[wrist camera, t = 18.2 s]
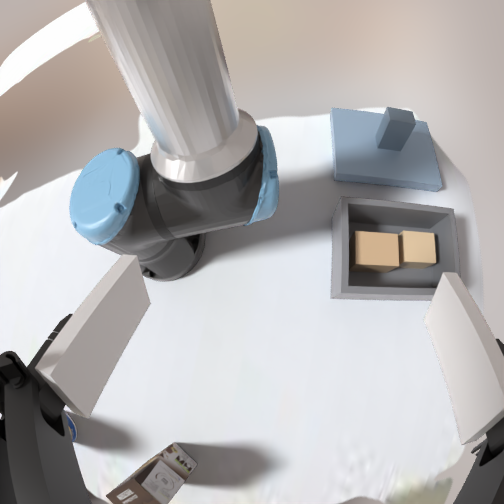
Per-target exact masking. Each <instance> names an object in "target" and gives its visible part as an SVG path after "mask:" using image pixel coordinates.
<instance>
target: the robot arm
mask: <svg viewBox="0 0 504 504" xmlns="http://www.w3.org/2000/svg"><path fill="white" fill-rule="evenodd" d="M85 2H86V4H87V6H88V8H89V11H90V13H91V15H92V17H93V19H94V21H95V23H96V25H97V27H98V29H99V31H100V33H101V36H102V37H103V40H104V42H105V44H106V46H107V48H108V50H109V52H110V54H111V56H112V58H113V60H114V62H115V64H116V66H117V68H118V69H119V72H120V74H121V75H122V77H123V79H124V81H125V83H126V85H127V87H128V89H129V91H130V93H131V95H132V97H133V99H134V100H135V102H136V104H137V106H138V108H139V110H140V112H141V114H142V116H143V118H144V120H145V121H146V123H147V125H148V127H149V129H150V131H151V133H152V134H153V136H154V138H155V141H154V143H153V145H152V148H151V153H150V154H147V155H144V156H141V157H137V158H136V157H135V156H134V154H133V153H131V152H130V151H125V150H124V149H121V148H112V149H108V150H105V151H103V152H102V153H100V154H98V155H97V156H95V157H94V158H93V159H92V160H91V161H90V162H89V163H88V164H87V165H86V166H85V167H84V169H83V170H82V172H81V174H80V176H79V177H78V178H77V180H76V182H75V184H74V187H73V190H72V193H71V198H70V206H69V210H70V218H71V222H72V224H73V226H74V228H75V229H76V231H77V232H78V233H79V234H80V235H82V236H83V237H84V238H86V239H87V240H89V242H91V243H92V244H95V245H100V246H102V247H104V248H106V249H108V250H111V251H113V252H115V253H117V254H119V255H122V256H121V257H120V258H119V259H118V260H117V262H116V263H115V264H114V265H113V266H112V267H111V269H110V270H109V271H108V272H107V273H106V274H105V276H104V277H103V278H102V279H101V280H100V282H99V283H98V284H97V285H96V286H95V288H94V289H93V290H92V291H91V292H90V294H89V295H88V296H87V297H86V299H85V300H84V301H83V302H82V304H81V305H80V306H79V308H78V309H77V310H76V311H75V313H74V314H69V315H68V316H66V317H65V318H64V319H63V320H61V321H60V322H59V324H58V325H57V326H56V328H55V329H54V330H53V331H54V332H52V333H51V334H50V336H49V337H48V340H46V341H45V342H44V344H43V345H42V347H41V348H40V349H39V351H38V352H37V354H36V355H35V357H34V358H33V359H32V361H31V362H30V364H29V365H28V366H27V367H26V366H25V365H24V363H23V362H22V361H21V359H20V358H19V357H18V355H17V354H16V353H15V352H13V351H6V352H4V353H2V354H1V355H0V413H1V414H2V417H1V419H0V504H92V503H91V501H90V498H89V495H88V492H87V490H86V487H85V484H84V481H83V478H82V475H81V471H80V468H79V465H78V461H77V458H76V454H75V451H74V447H73V443H72V439H71V434H70V430H69V425H68V420H67V415H66V413H65V411H64V410H63V409H64V407H65V405H67V406H68V407H69V408H70V409H71V411H72V412H74V413H76V414H78V415H80V416H82V417H85V418H87V419H89V417H90V415H91V413H92V411H93V409H94V407H95V405H96V403H97V401H98V399H99V397H100V395H101V393H102V391H103V389H104V387H105V385H106V383H107V381H108V379H109V377H110V375H111V373H112V372H113V370H114V368H115V366H116V364H117V362H118V360H119V359H120V357H121V355H122V353H123V351H124V349H125V348H126V346H127V344H128V342H129V340H130V339H131V337H132V335H133V333H134V332H135V330H136V328H137V326H138V325H139V323H140V321H141V319H142V318H143V316H144V314H145V312H146V311H147V309H148V307H149V306H150V304H151V303H150V300H149V297H148V293H147V290H146V286H145V283H144V279H143V276H145V277H147V278H150V279H153V280H156V281H171V280H175V279H178V278H180V277H182V276H183V275H185V274H186V273H188V272H189V271H190V270H191V269H192V268H193V267H194V266H195V265H196V263H197V262H198V260H199V258H200V256H201V254H202V252H203V248H204V244H205V233H206V232H211V231H216V230H221V229H226V228H231V227H236V226H242V225H243V226H247V225H250V224H252V223H253V222H257V221H261V220H265V219H268V218H270V217H271V216H272V215H273V214H274V213H275V211H276V209H277V205H278V198H279V180H278V175H277V159H276V153H275V148H274V143H273V140H272V137H271V134H270V132H269V130H268V129H267V128H266V127H265V126H258V125H256V123H255V121H254V119H253V118H252V117H251V116H250V115H249V114H248V113H247V112H246V111H244V110H242V109H239V108H237V105H236V101H235V97H234V93H233V88H232V84H231V80H230V76H229V72H228V68H227V64H226V60H225V56H224V52H223V48H222V44H221V40H220V36H219V32H218V28H217V24H216V20H215V17H214V13H213V9H212V5H211V1H210V0H85ZM142 275H143V276H142ZM423 320H424V323H425V325H426V328H427V330H428V333H429V335H430V338H431V341H432V344H433V346H434V349H435V352H436V355H437V358H438V361H439V364H440V367H441V370H442V373H443V376H444V379H445V382H446V386H447V389H448V393H449V396H450V400H451V404H452V407H453V411H454V415H455V419H456V423H457V428H458V432H459V437H460V442H461V445H464V444H467V443H470V442H473V441H476V440H477V439H479V438H480V437H481V436H483V435H484V434H485V433H486V436H487V439H485V440H484V441H483V442H482V443H480V444H479V445H478V446H476V447H475V448H474V449H473V450H472V452H471V453H474V452H476V451H477V450H479V449H480V451H479V452H478V453H477V454H476V456H477V458H476V460H475V462H474V464H473V467H472V469H471V471H470V473H469V475H468V477H467V479H466V481H465V483H464V485H463V487H462V489H461V491H460V492H459V494H458V496H457V498H456V500H455V501H454V503H453V504H504V344H503V343H502V342H501V341H500V340H499V339H495V338H494V336H493V334H492V332H491V330H490V328H489V326H488V324H487V322H486V320H485V319H484V317H483V315H482V313H481V312H480V310H479V308H478V306H477V305H476V303H475V301H474V300H473V298H472V296H471V295H470V293H469V291H468V290H467V288H466V287H465V285H464V283H463V282H462V280H461V279H460V277H459V276H458V274H457V273H454V272H443V274H442V276H441V279H440V282H439V284H438V287H437V289H436V292H435V294H434V297H433V299H432V301H431V304H430V306H429V308H428V311H427V313H426V315H425V317H424V319H423Z"/></svg>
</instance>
